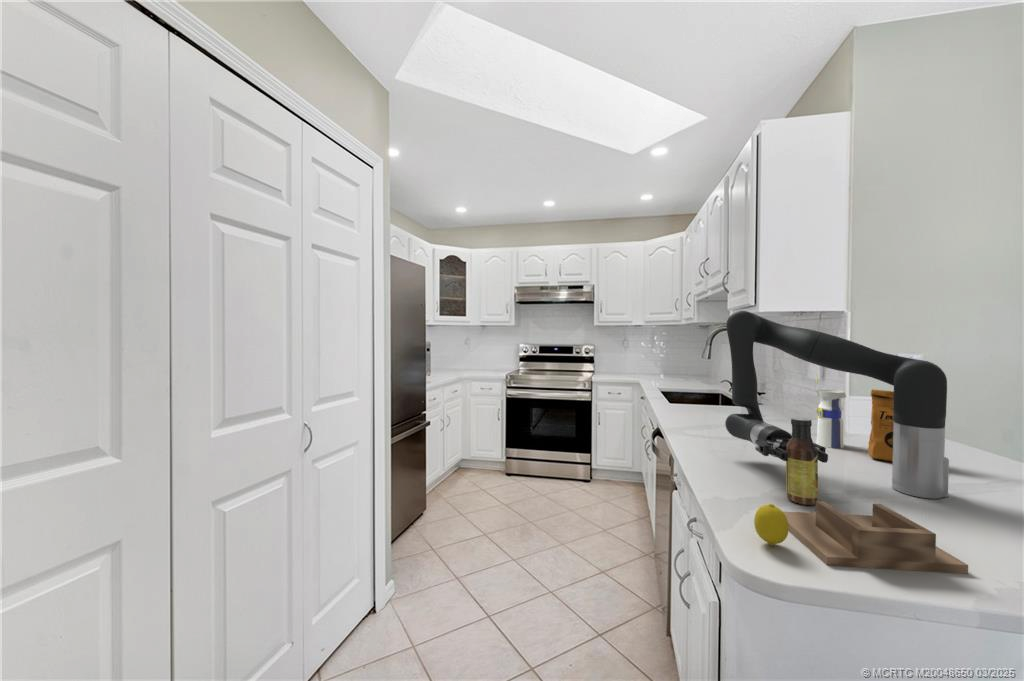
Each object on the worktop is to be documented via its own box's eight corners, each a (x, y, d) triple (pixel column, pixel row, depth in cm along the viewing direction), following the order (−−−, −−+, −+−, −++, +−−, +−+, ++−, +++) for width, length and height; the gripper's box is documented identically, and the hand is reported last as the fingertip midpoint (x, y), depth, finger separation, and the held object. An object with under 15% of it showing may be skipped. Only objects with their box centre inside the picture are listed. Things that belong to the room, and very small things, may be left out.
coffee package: (923, 469, 119) (925, 394, 118) (867, 460, 128) (868, 390, 127) (922, 461, 126) (924, 391, 126) (869, 453, 135) (870, 387, 134)
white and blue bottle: (823, 448, 140) (825, 376, 140) (810, 441, 149) (811, 373, 148) (850, 449, 139) (852, 376, 138) (835, 442, 147) (836, 373, 147)
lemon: (747, 538, 81) (748, 498, 80) (773, 537, 81) (774, 497, 81) (767, 553, 75) (768, 511, 75) (795, 552, 76) (796, 509, 75)
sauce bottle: (823, 507, 94) (824, 422, 93) (793, 505, 95) (794, 421, 95) (808, 496, 100) (810, 416, 100) (780, 494, 102) (781, 415, 101)
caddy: (884, 523, 87) (884, 492, 86) (968, 573, 69) (969, 535, 69) (773, 517, 89) (774, 488, 89) (826, 565, 71) (827, 528, 71)
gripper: (743, 425, 113) (774, 441, 97) (799, 426, 111) (839, 443, 95) (743, 451, 113) (773, 472, 97) (798, 453, 111) (838, 474, 95)
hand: (806, 457), depth 96 cm, fingers open, 8 cm apart
